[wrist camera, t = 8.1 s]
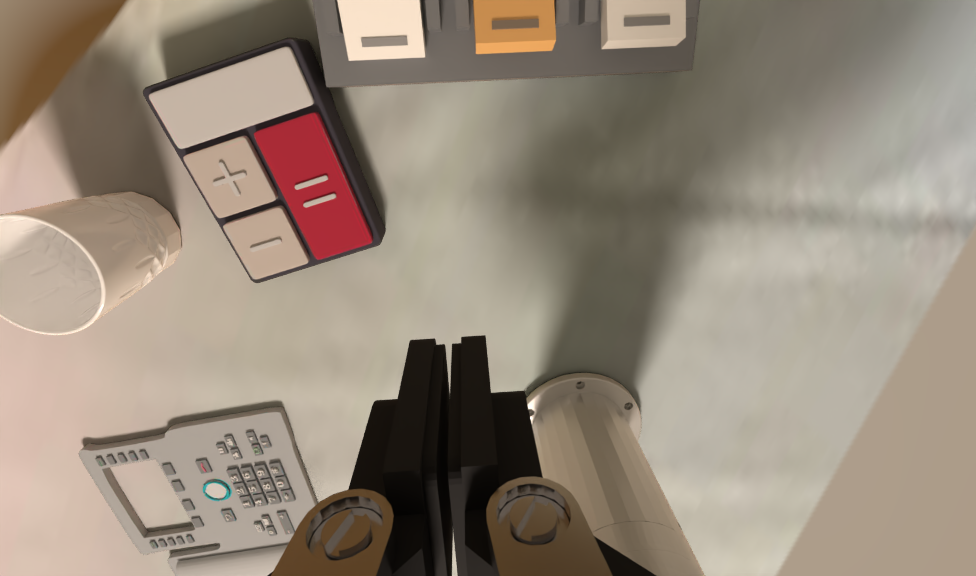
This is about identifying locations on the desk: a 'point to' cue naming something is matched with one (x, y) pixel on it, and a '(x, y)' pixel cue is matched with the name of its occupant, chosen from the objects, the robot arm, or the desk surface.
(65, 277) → the white cup
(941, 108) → the desk surface
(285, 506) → the office telephone
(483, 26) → the rocker middle
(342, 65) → the rocker switch panel
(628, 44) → the rocker
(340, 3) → the rocker
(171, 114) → the calculator
